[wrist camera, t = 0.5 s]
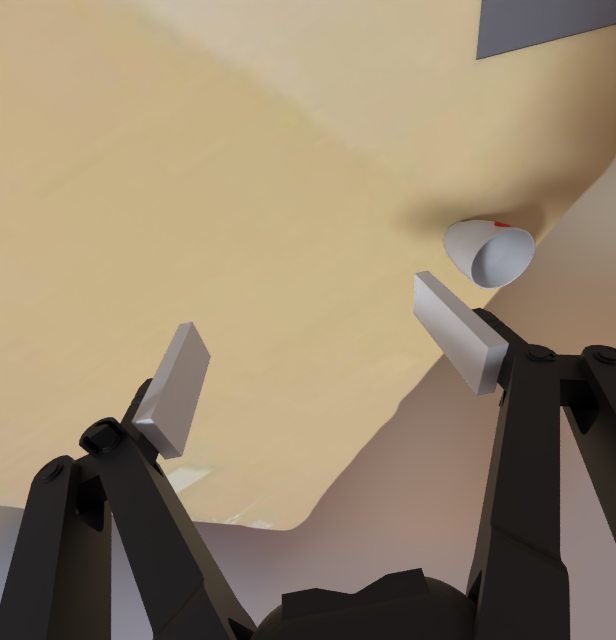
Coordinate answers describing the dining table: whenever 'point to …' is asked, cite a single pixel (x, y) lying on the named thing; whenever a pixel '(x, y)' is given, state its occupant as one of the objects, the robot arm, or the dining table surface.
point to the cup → (488, 251)
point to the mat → (537, 22)
